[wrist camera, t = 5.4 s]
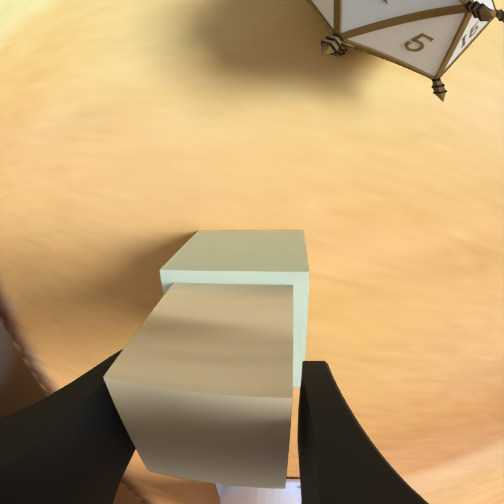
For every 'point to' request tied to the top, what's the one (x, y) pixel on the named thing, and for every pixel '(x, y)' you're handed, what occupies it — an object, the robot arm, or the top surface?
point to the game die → (406, 30)
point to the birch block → (211, 384)
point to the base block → (248, 269)
